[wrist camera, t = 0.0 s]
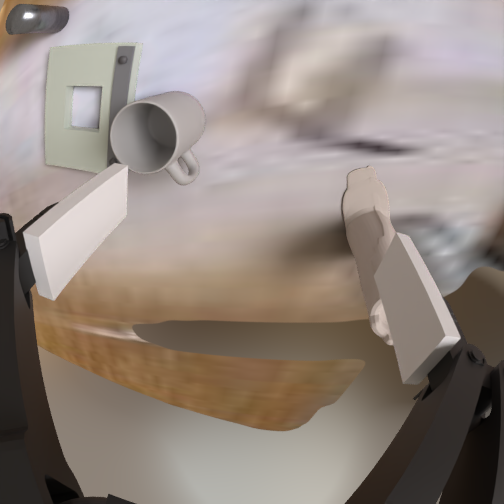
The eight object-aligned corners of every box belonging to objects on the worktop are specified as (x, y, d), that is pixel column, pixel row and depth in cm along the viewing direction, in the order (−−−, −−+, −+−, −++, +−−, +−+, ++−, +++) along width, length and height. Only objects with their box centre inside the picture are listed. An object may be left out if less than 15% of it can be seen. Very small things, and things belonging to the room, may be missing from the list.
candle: (384, 162, 38) (445, 235, 22) (391, 246, 45) (432, 342, 28) (334, 171, 40) (366, 251, 23) (349, 254, 47) (371, 356, 30)
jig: (58, 47, 32) (46, 47, 29) (143, 43, 32) (133, 42, 30) (52, 160, 43) (42, 166, 40) (128, 173, 43) (119, 179, 41)
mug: (137, 113, 38) (96, 129, 29) (185, 79, 35) (151, 83, 26) (182, 179, 43) (153, 212, 34) (231, 151, 40) (213, 177, 31)
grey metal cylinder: (51, 9, 27) (8, 7, 19) (71, 5, 28) (28, 1, 19) (46, 33, 30) (3, 36, 22) (66, 30, 30) (22, 31, 22)
